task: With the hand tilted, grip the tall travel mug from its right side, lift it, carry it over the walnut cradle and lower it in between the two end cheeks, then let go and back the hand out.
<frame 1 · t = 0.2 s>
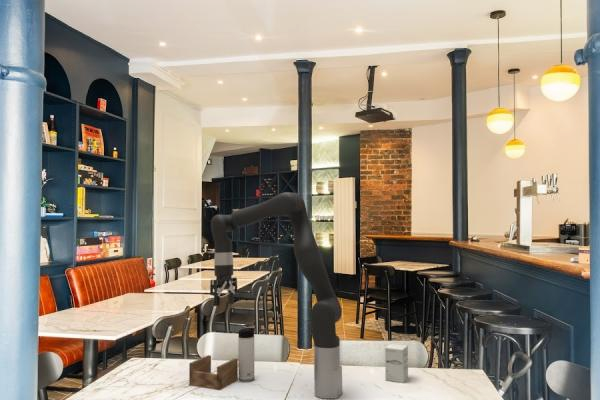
hand: (224, 304, 184), 29 cm above the table, tool pointing down, fingers open, 8 cm apart
cradle: (213, 382, 177), on the table
travel mug: (246, 380, 180), on the table
supplement box: (397, 379, 179), on the table
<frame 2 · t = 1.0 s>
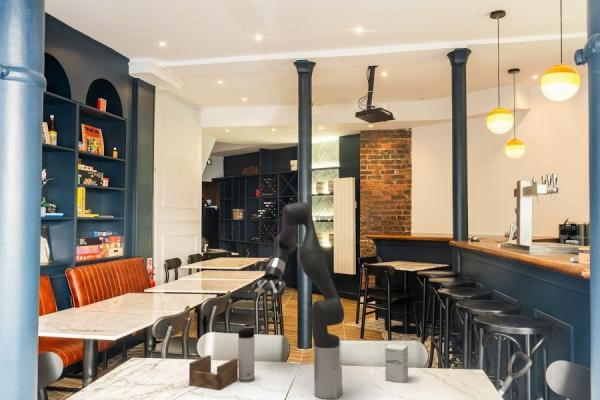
hand: (263, 301, 191), 29 cm above the table, tool tilted 45°, fingers open, 8 cm apart
nothing on the table moved.
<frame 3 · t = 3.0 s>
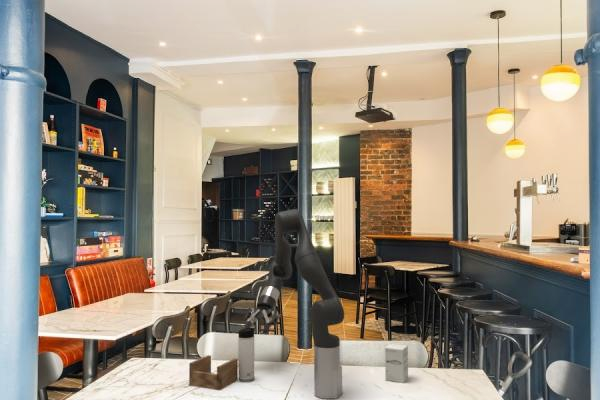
hand: (255, 331, 187), 17 cm above the table, tool tilted 45°, fingers open, 8 cm apart
nothing on the table moved.
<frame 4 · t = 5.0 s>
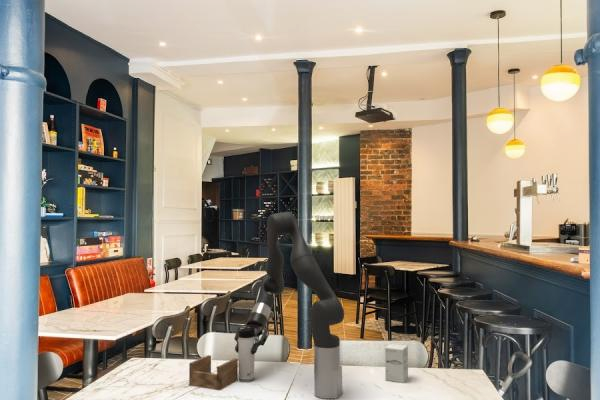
hand: (244, 352, 180), 11 cm above the table, tool tilted 45°, fingers closed on travel mug, 6 cm apart
travel mug: (246, 380, 180), on the table, touching gripper
everything else where it was.
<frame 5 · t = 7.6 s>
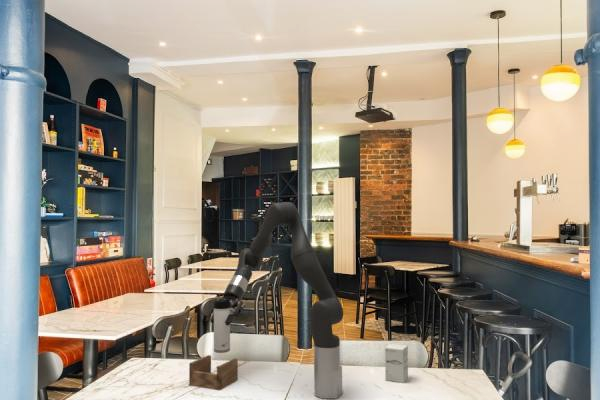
hand: (219, 323, 179), 22 cm above the table, tool tilted 45°, fingers closed on travel mug, 6 cm apart
travel mug: (222, 351, 180), point 11 cm above the table, touching gripper
everything else where it was.
when the fingers open (13 cm above the table, at t = 10.1 s): travel mug stays where it is, resting on cradle.
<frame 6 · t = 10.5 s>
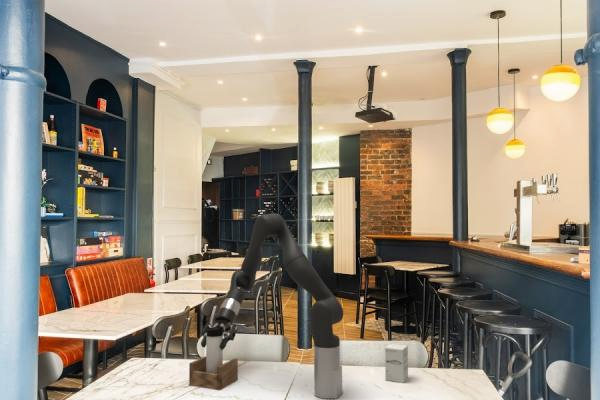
hand: (211, 347, 177), 14 cm above the table, tool tilted 45°, fingers open, 8 cm apart
travel mug: (214, 379, 177), point 1 cm above the table, touching cradle
everything else where it was.
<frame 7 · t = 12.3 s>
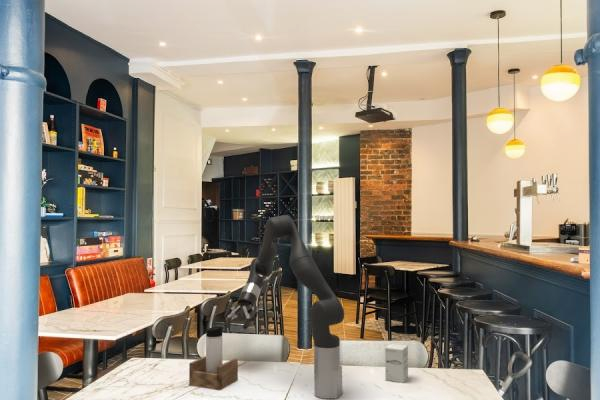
hand: (235, 327, 189), 19 cm above the table, tool tilted 45°, fingers open, 8 cm apart
nothing on the table moved.
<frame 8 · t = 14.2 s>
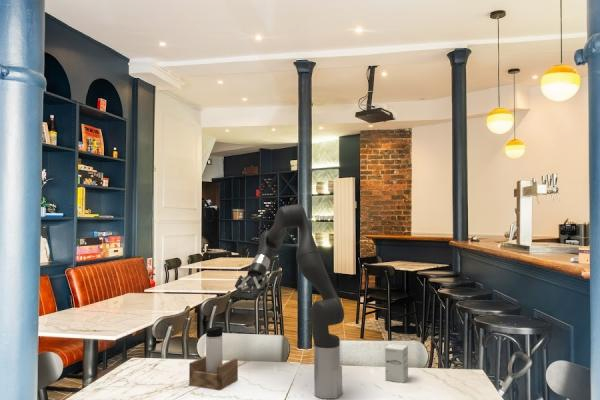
hand: (245, 297, 191), 31 cm above the table, tool tilted 45°, fingers open, 8 cm apart
nothing on the table moved.
at the end: travel mug inside the target area on the cradle (0.3 cm from its centre), point 1.0 cm above the cradle's base; travel mug tilted 0°; the gripper is holding nothing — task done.
